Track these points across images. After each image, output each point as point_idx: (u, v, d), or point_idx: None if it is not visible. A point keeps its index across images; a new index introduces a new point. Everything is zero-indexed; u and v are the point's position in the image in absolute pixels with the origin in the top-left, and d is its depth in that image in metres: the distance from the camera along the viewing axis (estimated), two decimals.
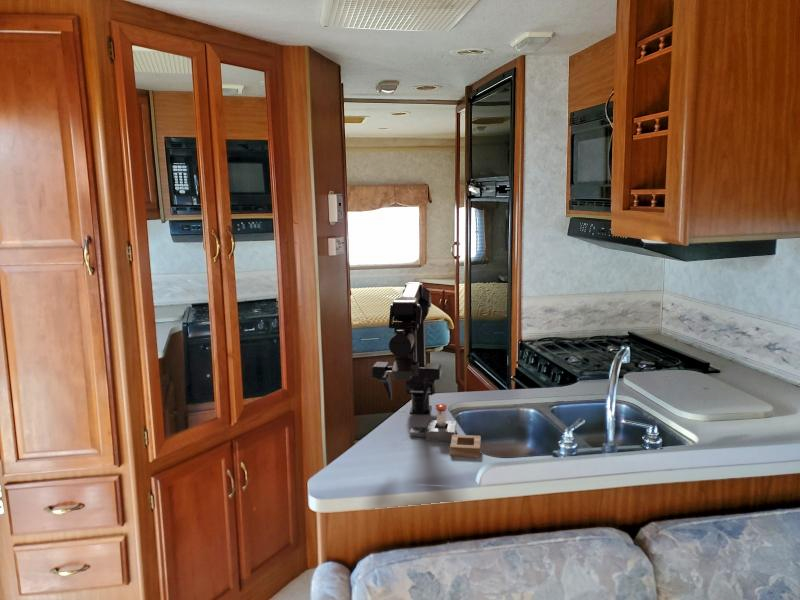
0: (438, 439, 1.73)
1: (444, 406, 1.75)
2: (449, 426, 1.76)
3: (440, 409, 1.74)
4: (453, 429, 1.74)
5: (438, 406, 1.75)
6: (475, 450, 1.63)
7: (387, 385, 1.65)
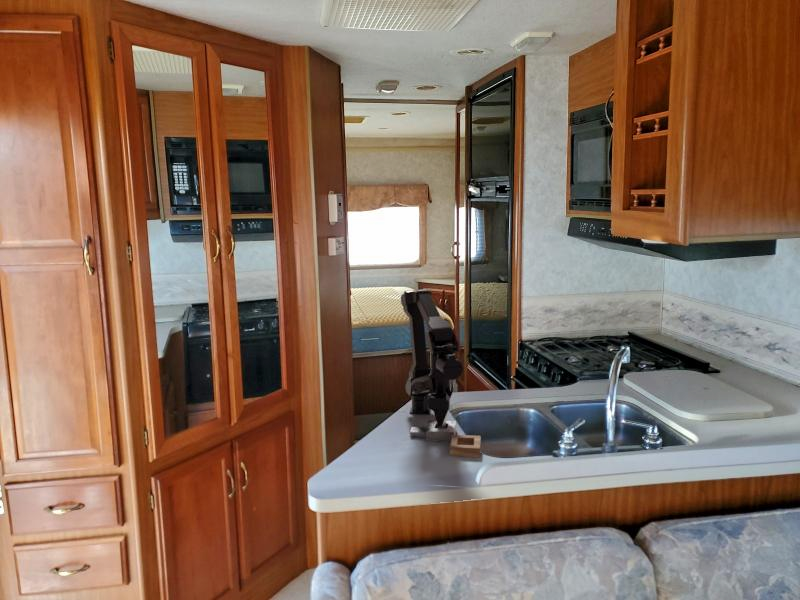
0: (438, 439, 1.73)
1: None
2: (449, 426, 1.76)
3: None
4: (453, 429, 1.74)
5: None
6: (475, 450, 1.63)
7: None
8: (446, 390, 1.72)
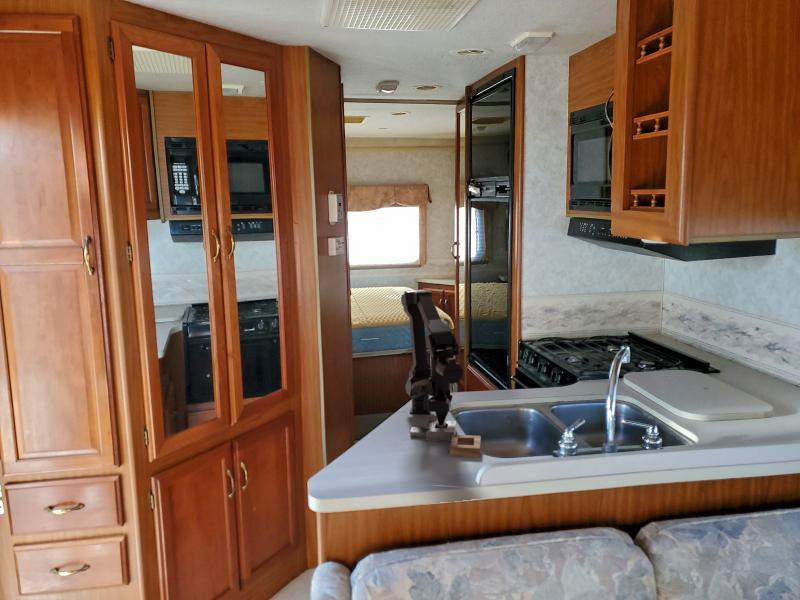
0: (438, 439, 1.73)
1: None
2: (449, 426, 1.76)
3: None
4: (453, 429, 1.74)
5: None
6: (475, 450, 1.63)
7: None
8: (446, 394, 1.72)
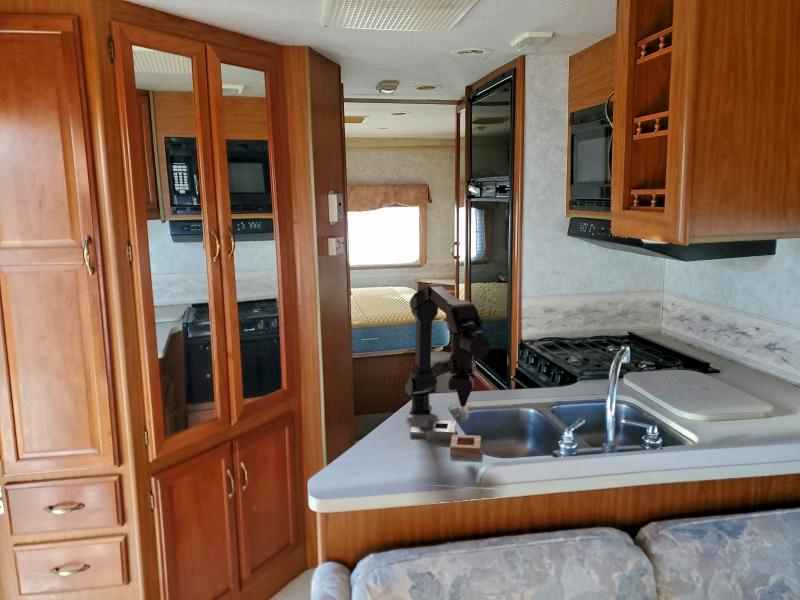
0: (438, 439, 1.73)
1: None
2: (449, 426, 1.76)
3: None
4: (453, 429, 1.74)
5: None
6: (475, 450, 1.63)
7: None
8: (468, 372, 1.61)
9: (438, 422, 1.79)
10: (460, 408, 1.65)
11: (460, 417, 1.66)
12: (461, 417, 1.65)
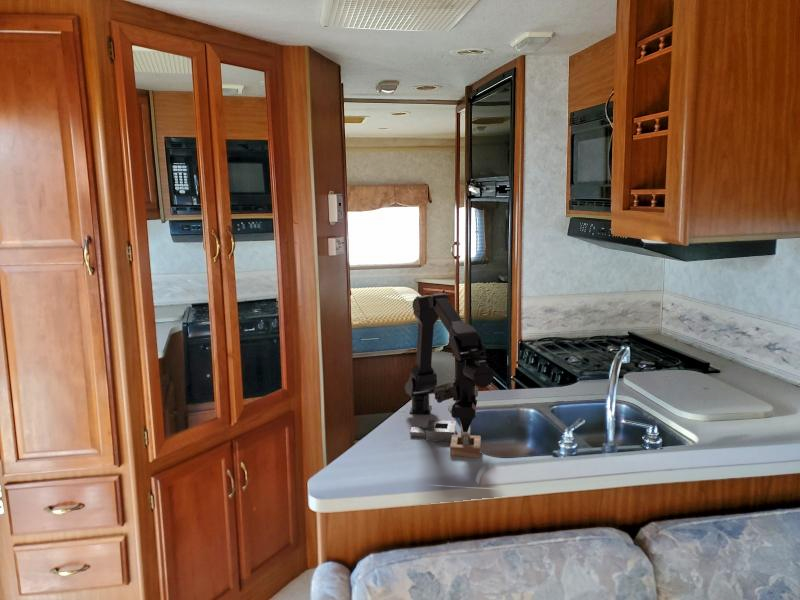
0: (438, 439, 1.73)
1: None
2: (449, 426, 1.76)
3: None
4: (453, 429, 1.74)
5: None
6: (475, 450, 1.63)
7: None
8: (471, 398, 1.62)
9: (438, 422, 1.79)
10: (462, 433, 1.66)
11: (462, 442, 1.66)
12: (463, 442, 1.66)
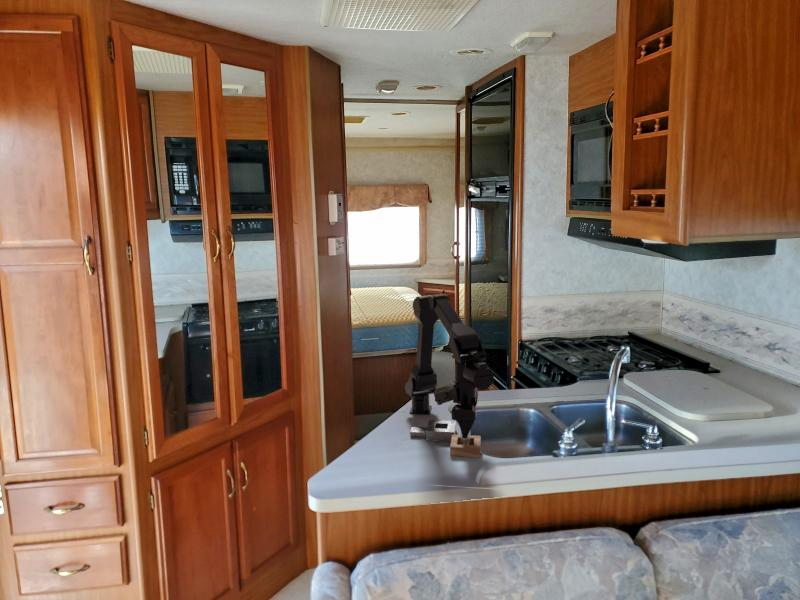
0: (438, 439, 1.73)
1: None
2: (449, 426, 1.76)
3: None
4: (453, 429, 1.74)
5: None
6: (475, 450, 1.63)
7: None
8: (471, 401, 1.62)
9: (438, 422, 1.79)
10: (462, 441, 1.66)
11: None
12: None
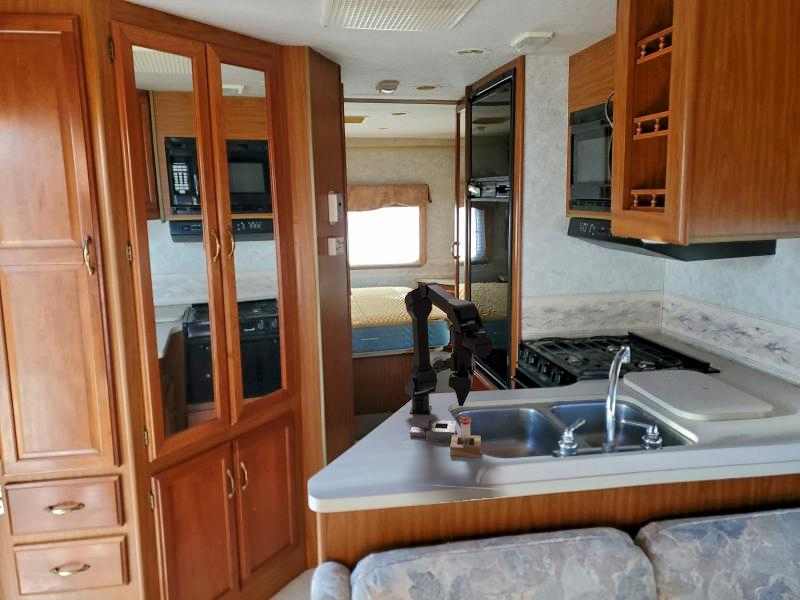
0: (438, 439, 1.73)
1: (469, 419, 1.66)
2: (449, 426, 1.76)
3: (464, 422, 1.65)
4: (453, 429, 1.74)
5: (462, 419, 1.66)
6: (475, 450, 1.63)
7: None
8: (468, 369, 1.68)
9: (438, 422, 1.79)
10: (462, 441, 1.66)
11: None
12: None
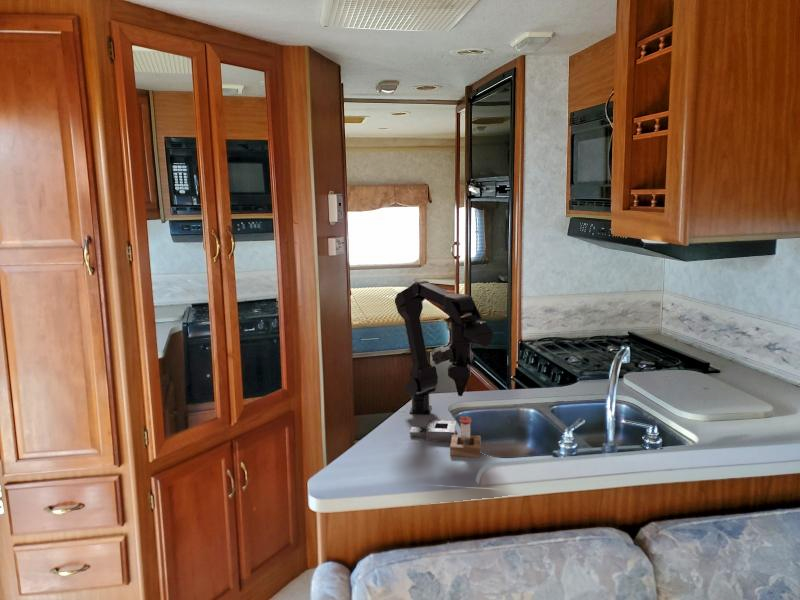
0: (438, 439, 1.73)
1: (469, 419, 1.66)
2: (449, 426, 1.76)
3: (464, 422, 1.65)
4: (453, 429, 1.74)
5: (462, 419, 1.66)
6: (475, 450, 1.63)
7: None
8: (466, 360, 1.73)
9: (438, 422, 1.79)
10: (462, 441, 1.66)
11: None
12: None
